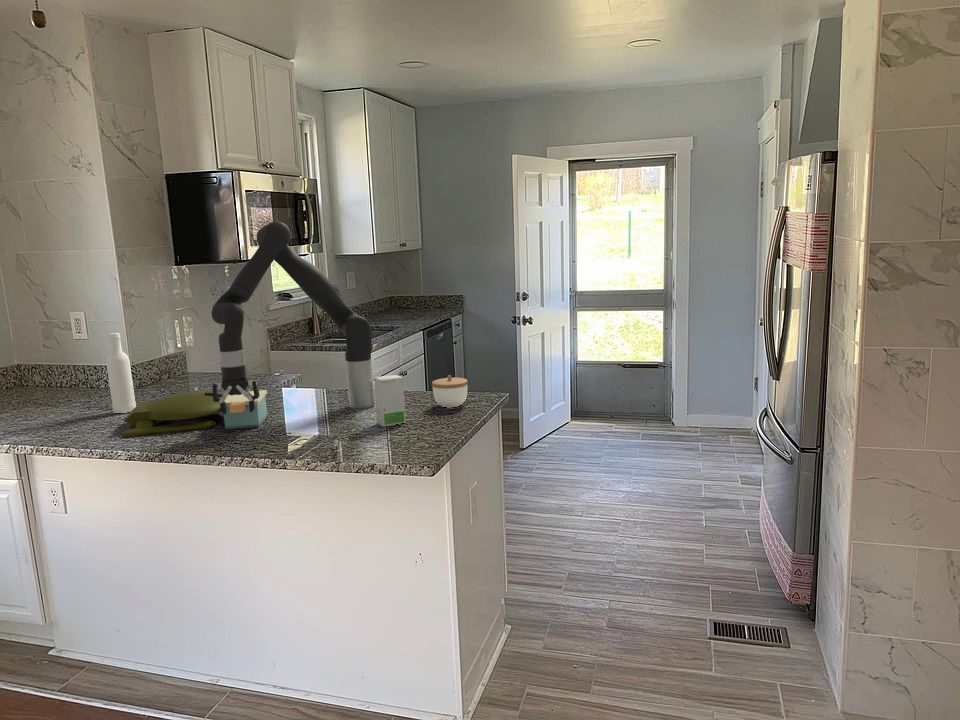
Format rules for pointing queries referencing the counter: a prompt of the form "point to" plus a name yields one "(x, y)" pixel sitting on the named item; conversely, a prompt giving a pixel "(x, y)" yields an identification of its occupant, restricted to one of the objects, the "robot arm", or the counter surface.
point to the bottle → (120, 377)
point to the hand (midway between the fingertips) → (238, 412)
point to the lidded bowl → (450, 391)
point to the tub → (246, 417)
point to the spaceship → (172, 413)
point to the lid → (242, 401)
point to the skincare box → (389, 400)
